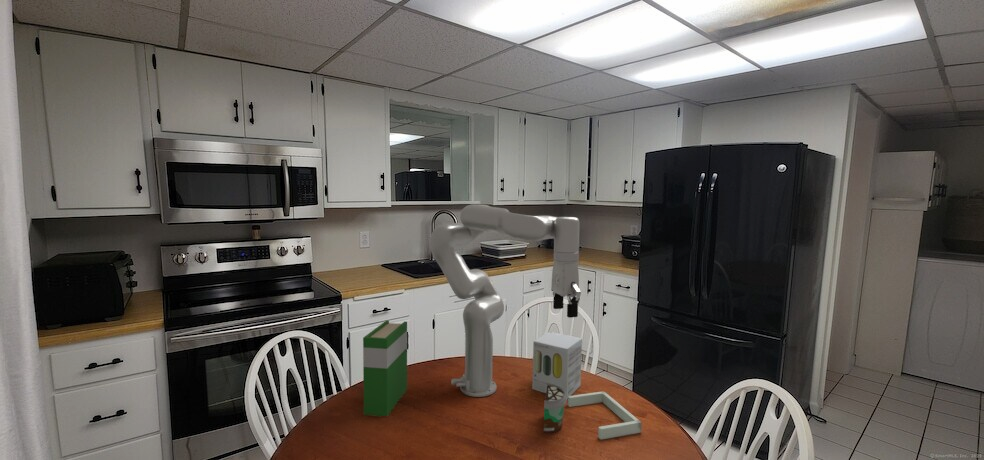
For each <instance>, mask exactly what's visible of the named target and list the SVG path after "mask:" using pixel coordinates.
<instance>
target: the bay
mask: <svg viewBox="0 0 984 460" xmlns="http://www.w3.org/2000/svg"><path fill="white" fill-rule="evenodd" d="M599 403H603V404H604V406H606V407H607V408H608V409H610V411H612V412H613V413H614V414H615V415H616V416H618V417H619V418H620V419H621V420H622V421H623V422H619V423H615V424H614V423H613V424H609V425H608V424H607V425H601V426H598V432H597V434H598V435H597V438H598V439H599V440H606V439H607V440H608V439H613V438H618V437H623V436H630V435H634V434H641V433H642V425H643V423H642V421H640V419H638V418H637V417H636V416H634V415H633V414H632V413H631V412H630V411H629V410H627V409H626V408H625V407H624V406H623V405H621V404H620V403H618V402H617V400H615V399H614V398H613V397H611V395H609V394H608V393H607V392H605V391H597V392H588V393H581V394H574V395H573V394H572V395H571V396H568V399H567V406H568V407H569V408H572V407H580V406H586V405H592V404H594V405H595V404H599Z"/></svg>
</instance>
